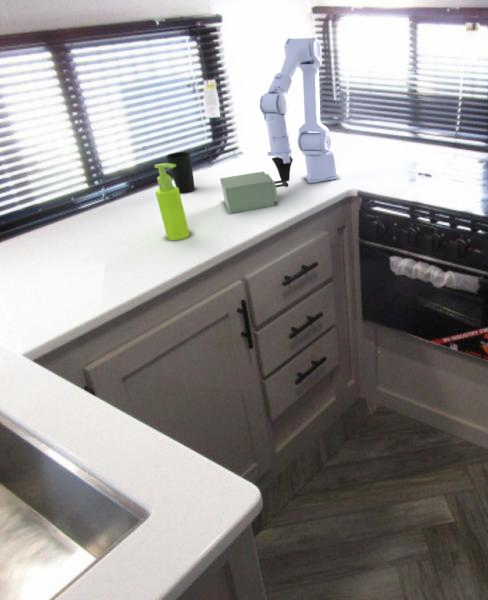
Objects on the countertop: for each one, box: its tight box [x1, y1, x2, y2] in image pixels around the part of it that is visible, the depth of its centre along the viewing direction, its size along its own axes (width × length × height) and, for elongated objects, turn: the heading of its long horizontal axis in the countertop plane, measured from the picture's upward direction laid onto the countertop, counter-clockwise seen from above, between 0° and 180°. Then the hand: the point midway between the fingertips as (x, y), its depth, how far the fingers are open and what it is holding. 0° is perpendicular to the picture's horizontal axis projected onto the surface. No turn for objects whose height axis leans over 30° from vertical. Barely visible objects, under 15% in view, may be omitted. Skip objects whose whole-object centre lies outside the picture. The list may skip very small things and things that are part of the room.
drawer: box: [265, 173, 289, 203], centre depth 177 cm, size 17×10×6 cm, turn 111°
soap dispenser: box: [153, 162, 190, 241], centre depth 152 cm, size 6×7×20 cm
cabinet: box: [219, 170, 276, 214], centre depth 176 cm, size 14×12×8 cm
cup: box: [165, 151, 196, 194], centre depth 190 cm, size 8×8×12 cm
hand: (285, 180), depth 174 cm, fingers closed
